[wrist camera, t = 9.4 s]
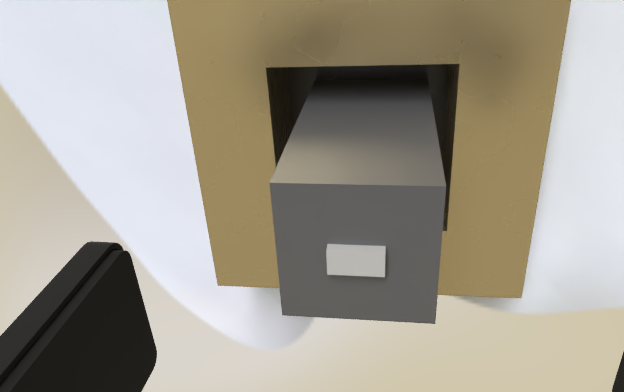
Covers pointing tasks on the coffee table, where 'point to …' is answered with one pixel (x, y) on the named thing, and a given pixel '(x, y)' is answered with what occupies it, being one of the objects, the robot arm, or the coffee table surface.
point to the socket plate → (362, 66)
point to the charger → (361, 203)
